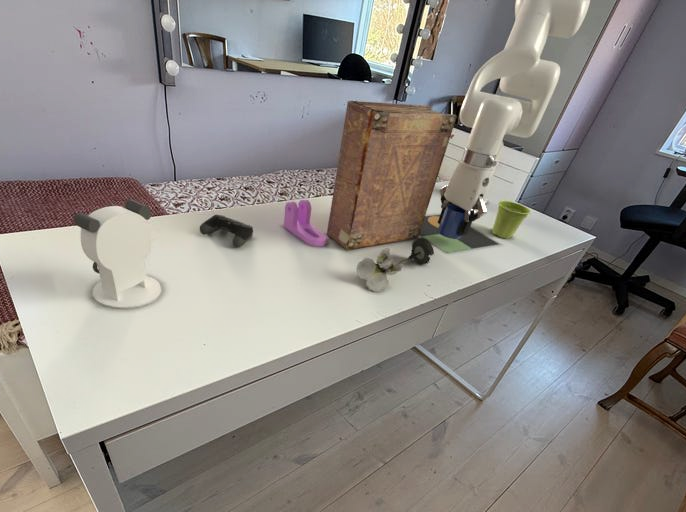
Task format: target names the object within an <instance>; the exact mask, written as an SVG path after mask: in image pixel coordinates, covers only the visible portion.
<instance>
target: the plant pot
mask: <svg viewBox="0 0 686 512" xmlns="http://www.w3.org/2000/svg"><path fill="white" fill-rule="evenodd" d="M531 213H532V211H531V209H530V208H528V207H527V206H525V205H523V204H521V203H518V202H515V201H511V200H500V201H498V207H497V212H496V217H495V220H494V223H493V226H492V229H491V233H492V234H493V235H496V236H497V237H499V238H500V239H501V238H502V239H506V240H507V239H512V238H513V236H514V234H515V233H516V231H517V230H518V228H519V227H520V225H521V224H522V222H523V221H524V219H526V218H527V217H528V215H530V214H531Z"/></svg>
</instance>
